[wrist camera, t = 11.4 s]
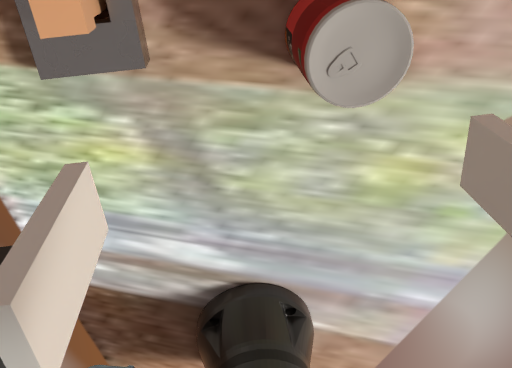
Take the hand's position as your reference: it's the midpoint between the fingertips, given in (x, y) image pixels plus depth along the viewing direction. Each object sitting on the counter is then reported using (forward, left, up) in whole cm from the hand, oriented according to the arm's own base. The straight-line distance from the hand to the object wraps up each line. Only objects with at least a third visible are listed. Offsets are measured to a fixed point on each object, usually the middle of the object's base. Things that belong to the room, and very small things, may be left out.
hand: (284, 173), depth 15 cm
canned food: (-1, -8, -29) cm, 30 cm away
